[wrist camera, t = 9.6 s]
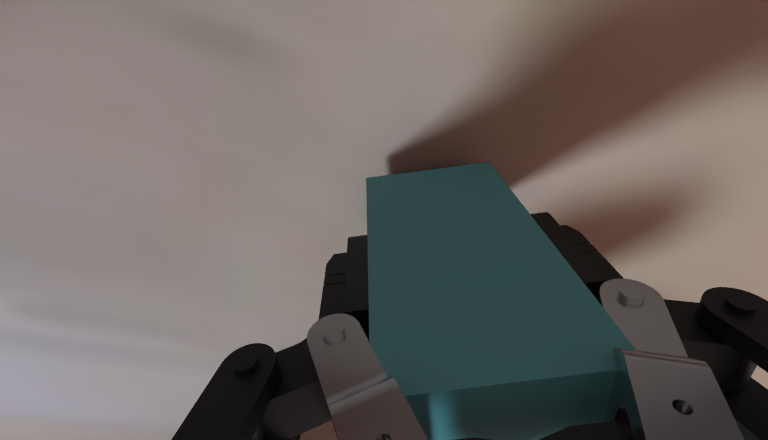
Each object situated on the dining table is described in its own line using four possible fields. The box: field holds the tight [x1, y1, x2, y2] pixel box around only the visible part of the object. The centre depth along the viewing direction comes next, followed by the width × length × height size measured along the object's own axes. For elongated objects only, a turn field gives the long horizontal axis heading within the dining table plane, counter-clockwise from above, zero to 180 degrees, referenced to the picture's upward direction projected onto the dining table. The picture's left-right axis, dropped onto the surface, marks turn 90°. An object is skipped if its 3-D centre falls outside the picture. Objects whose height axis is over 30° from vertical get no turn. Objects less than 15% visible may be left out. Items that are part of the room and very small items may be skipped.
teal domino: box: [366, 162, 637, 440], centre depth 12 cm, size 2×5×10 cm, turn 97°
